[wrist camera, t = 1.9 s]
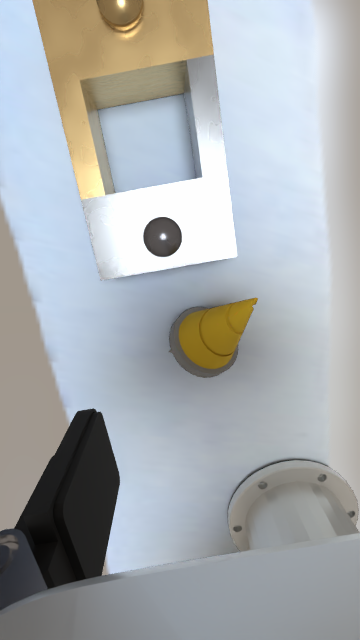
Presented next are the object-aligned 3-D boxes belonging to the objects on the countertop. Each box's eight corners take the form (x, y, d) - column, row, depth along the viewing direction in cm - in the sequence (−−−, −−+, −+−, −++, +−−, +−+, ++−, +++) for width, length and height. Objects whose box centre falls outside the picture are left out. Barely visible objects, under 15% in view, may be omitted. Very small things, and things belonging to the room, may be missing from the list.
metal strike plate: (226, 253, 23) (239, 257, 19) (112, 273, 23) (98, 281, 19) (194, -3, 19) (200, -76, 14) (55, 25, 19) (19, -39, 15)
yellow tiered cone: (151, 328, 25) (204, 258, 17) (205, 325, 28) (275, 261, 19) (164, 391, 23) (232, 346, 15) (222, 382, 26) (307, 338, 17)
